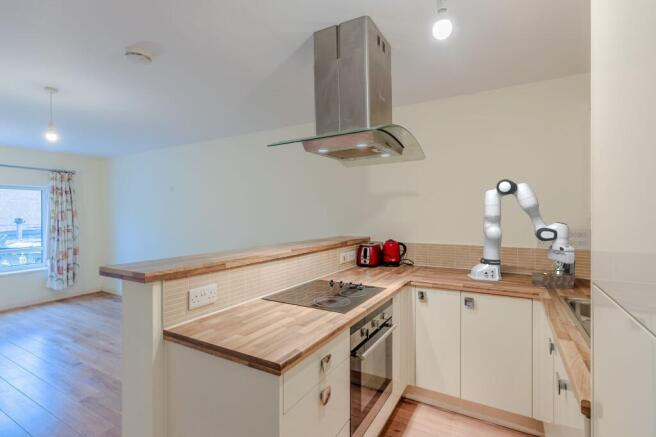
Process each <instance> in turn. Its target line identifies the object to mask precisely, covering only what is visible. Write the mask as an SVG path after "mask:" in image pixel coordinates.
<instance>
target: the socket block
mask: <svg viewBox="0 0 656 437" xmlns="http://www.w3.org/2000/svg"><path fill="white" fill-rule="evenodd" d="M551 273H552V275H543V274H541V272H534V271H533V272H531V285H532V284H534V285H533V286H535V285H537V286H539V287H545V288H544V289H550V290H551V289H560V290H573V289H574V284H573V282H574V283H575V278H574V277H573V276H570V275H567V274H564V273H563V274H562V275H555V272H551ZM537 286H536V287H537ZM539 287H538V288H539Z"/></svg>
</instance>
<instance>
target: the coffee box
mask: <svg viewBox="0 0 656 437" xmlns="http://www.w3.org/2000/svg"><path fill="white" fill-rule="evenodd" d="M556 266H557V265H555V267H556ZM562 268H564V271H563V273H564V274H567V275H570V276H573V277H574V279H575V275H576V273H575V272H576V260H575V259H574V263H573V264H567V263H564V264H563V266H562ZM574 284H575V281H574V282H573V285H574Z"/></svg>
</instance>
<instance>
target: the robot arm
mask: <svg viewBox="0 0 656 437" xmlns="http://www.w3.org/2000/svg"><path fill="white" fill-rule="evenodd" d="M508 195H513V196H514V197H515V199H516V202H517V203H518V204H519V207H520V208H521V209H522V211H523V212H525V214H527V215H528V217H529V218H530V220H531V222H532V224H533V227H534V236H535V238H536V239H538V241H541V242H551V243H552V244H550V245H549V247H548V249H547V252H546V253H547V254H546V258H547V260H548V259H549V260H553V261H554V262H555V264H556V265H557V266H556V265H555V267H557V268H560V269H562V266H563V264H564V263H567V264H573V263H574V260H575V257H576V256H575V252H576V249H575V248H574V247H573V246H571V245H570V240H569V239H570V232H571V231H570V226H569V225H568V224H567V223H564V222H559V221H556V222H553V223H552V224H549V225H546V223H545V222H544V219H543V218H542V216H541V214H540V209H539V208H540V203H539V200H538V197H537V195H536V193H535V192H534V190H533V189H532V187H531V186H530V184H528V183H527V182H521V183H516V182H514V181H513V180H512V179H509V178H505V179H501V180H499V181H498V182H497V183H496V186H495V188H493V189H489V190H487V191H486V192H485V193H484V198H483V229H482V231H483V237H484V238H483V247H482V248H483V250H482V258H480V257H478V258H477V261H479V263H478V264H476V265H474V266H473V267H472V268H471V269H470V270H471V271H470V273H467V277H468V278H470V279H471V280H475V281H491V282H499V281H502V280H503V278H502V274H501V263H502V261H501V248H502V242H503V240H502V239H503V230H502V228H501V222H502V198H503V197H504V196H508Z"/></svg>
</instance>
